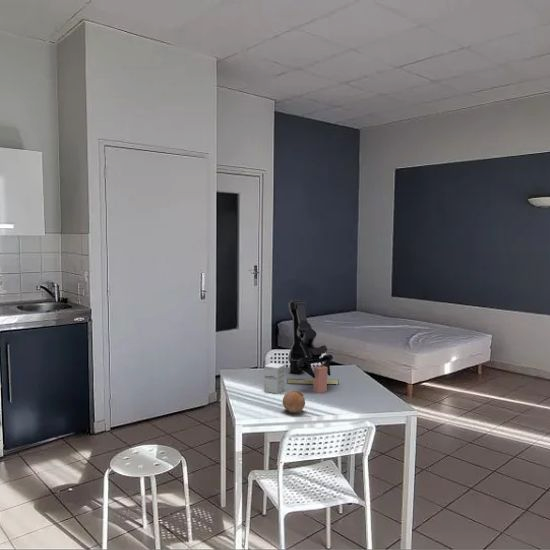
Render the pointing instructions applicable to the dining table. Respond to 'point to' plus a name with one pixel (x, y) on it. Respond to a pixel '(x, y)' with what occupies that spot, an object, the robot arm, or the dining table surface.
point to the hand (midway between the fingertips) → (322, 376)
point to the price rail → (309, 381)
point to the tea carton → (320, 379)
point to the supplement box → (274, 378)
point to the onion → (294, 401)
